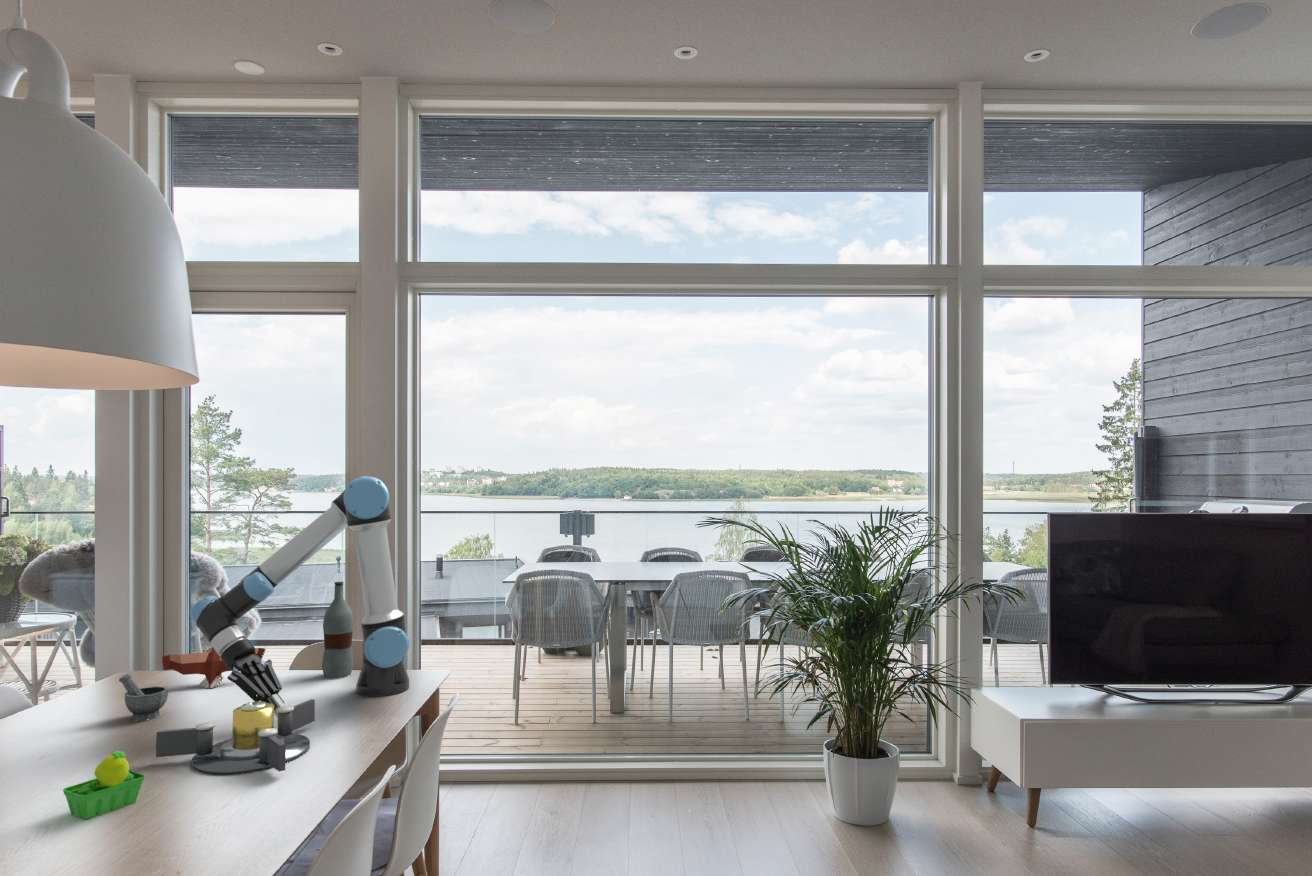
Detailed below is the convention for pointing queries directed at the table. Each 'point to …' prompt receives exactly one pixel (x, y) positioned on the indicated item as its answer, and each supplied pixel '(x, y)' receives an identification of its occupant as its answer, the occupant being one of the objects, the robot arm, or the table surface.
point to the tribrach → (247, 743)
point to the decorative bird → (201, 665)
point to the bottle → (338, 637)
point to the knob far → (185, 741)
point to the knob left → (272, 749)
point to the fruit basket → (105, 788)
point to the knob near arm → (295, 717)
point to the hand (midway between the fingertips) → (285, 717)
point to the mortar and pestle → (143, 699)
